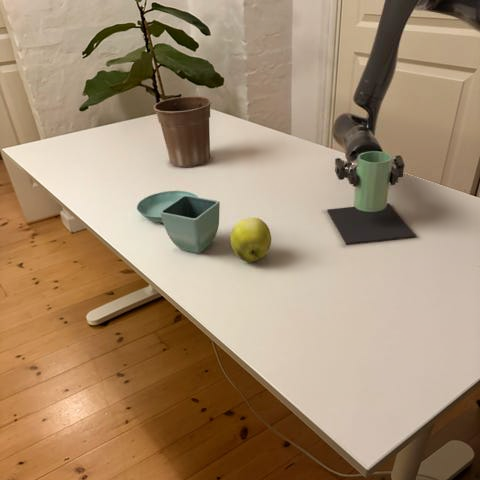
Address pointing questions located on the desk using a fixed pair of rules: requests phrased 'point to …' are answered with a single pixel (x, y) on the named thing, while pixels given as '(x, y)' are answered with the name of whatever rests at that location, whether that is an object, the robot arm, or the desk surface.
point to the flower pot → (192, 222)
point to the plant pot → (185, 129)
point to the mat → (369, 225)
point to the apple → (251, 239)
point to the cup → (372, 181)
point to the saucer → (159, 204)
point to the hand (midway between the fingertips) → (374, 181)
